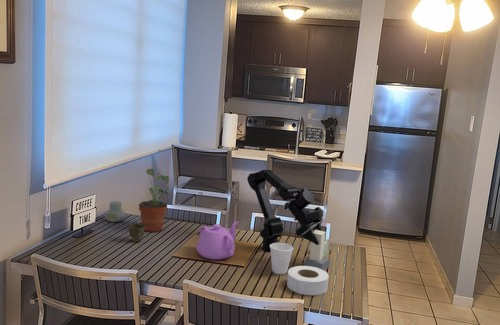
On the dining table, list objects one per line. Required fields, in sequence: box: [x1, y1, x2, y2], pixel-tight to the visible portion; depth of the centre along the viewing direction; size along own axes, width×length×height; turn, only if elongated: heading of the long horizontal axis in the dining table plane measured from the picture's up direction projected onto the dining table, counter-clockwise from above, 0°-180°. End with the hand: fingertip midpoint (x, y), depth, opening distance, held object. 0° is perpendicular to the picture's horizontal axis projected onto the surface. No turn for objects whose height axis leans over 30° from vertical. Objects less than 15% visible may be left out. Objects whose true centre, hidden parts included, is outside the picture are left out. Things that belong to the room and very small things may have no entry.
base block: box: [303, 255, 331, 271], centre depth 193 cm, size 8×8×4 cm
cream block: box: [309, 230, 327, 262], centre depth 191 cm, size 4×5×12 cm
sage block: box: [323, 240, 330, 257], centre depth 208 cm, size 5×5×6 cm
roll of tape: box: [286, 265, 330, 296], centre depth 172 cm, size 16×16×6 cm
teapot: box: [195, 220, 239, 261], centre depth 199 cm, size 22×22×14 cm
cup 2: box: [270, 242, 295, 275], centre depth 184 cm, size 10×10×11 cm
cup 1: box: [128, 222, 145, 243], centre depth 208 cm, size 8×7×8 cm
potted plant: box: [138, 168, 170, 233], centre depth 225 cm, size 16×15×35 cm
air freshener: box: [104, 200, 127, 223], centre depth 237 cm, size 11×8×10 cm
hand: (321, 242), depth 190 cm, fingers open, 7 cm apart
